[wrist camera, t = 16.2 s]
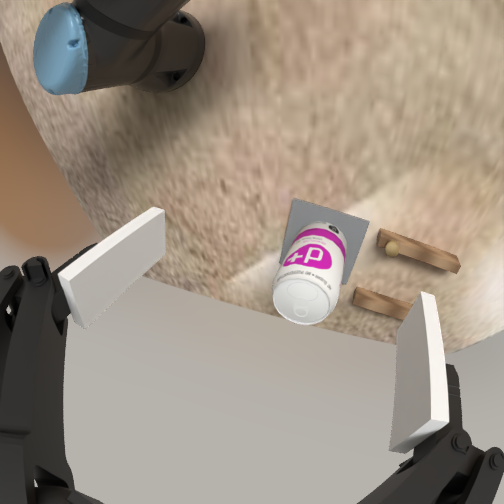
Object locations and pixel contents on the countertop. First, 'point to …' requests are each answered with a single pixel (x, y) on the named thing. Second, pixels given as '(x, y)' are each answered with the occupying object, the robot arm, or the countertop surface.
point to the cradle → (411, 249)
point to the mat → (345, 223)
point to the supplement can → (311, 274)
